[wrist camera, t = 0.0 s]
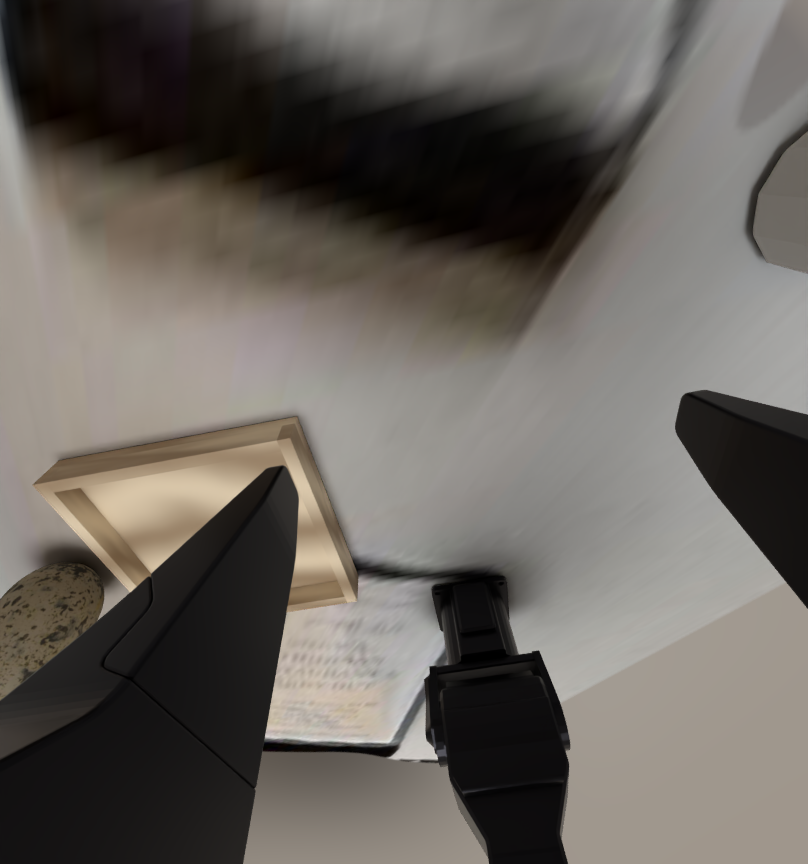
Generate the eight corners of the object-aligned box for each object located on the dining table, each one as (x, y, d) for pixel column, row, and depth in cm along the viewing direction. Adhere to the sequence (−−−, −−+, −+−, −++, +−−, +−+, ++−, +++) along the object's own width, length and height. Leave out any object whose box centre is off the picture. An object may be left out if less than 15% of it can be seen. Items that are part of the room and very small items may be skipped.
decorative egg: (31, 578, 32) (-89, 721, 24) (45, 533, 30) (-84, 676, 22) (111, 601, 35) (26, 740, 26) (131, 561, 32) (43, 701, 24)
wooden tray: (358, 575, 34) (357, 601, 32) (177, 604, 35) (165, 631, 33) (297, 416, 26) (290, 438, 24) (58, 460, 26) (32, 485, 24)
